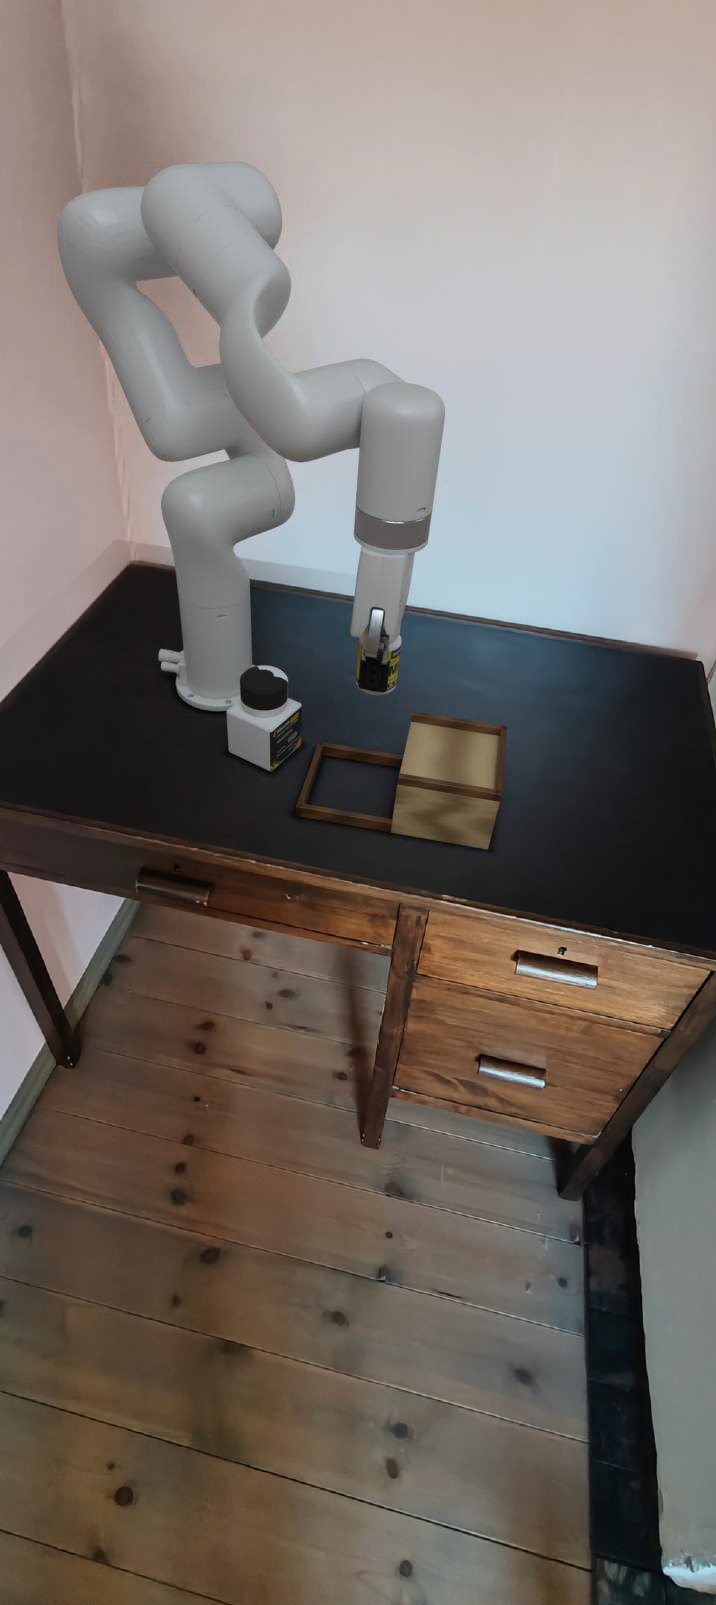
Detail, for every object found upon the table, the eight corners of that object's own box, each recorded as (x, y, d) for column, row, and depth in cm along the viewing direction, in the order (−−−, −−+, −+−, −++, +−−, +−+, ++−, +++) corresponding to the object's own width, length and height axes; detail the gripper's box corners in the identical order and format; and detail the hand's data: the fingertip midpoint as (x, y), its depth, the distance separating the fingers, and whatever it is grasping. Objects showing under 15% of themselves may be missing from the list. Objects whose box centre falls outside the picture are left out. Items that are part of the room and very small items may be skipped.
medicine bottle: (271, 773, 108) (270, 699, 100) (227, 752, 111) (223, 678, 102) (301, 744, 113) (303, 671, 104) (259, 725, 115) (257, 652, 107)
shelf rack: (295, 815, 103) (296, 759, 96) (318, 750, 112) (320, 695, 106) (487, 849, 101) (501, 794, 94) (494, 780, 110) (507, 725, 104)
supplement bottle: (392, 699, 93) (400, 635, 87) (351, 692, 94) (356, 628, 88) (399, 675, 97) (407, 612, 91) (360, 668, 97) (365, 605, 91)
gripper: (370, 483, 88) (358, 631, 101) (337, 556, 76) (328, 714, 89) (439, 494, 88) (419, 641, 100) (417, 569, 75) (397, 726, 88)
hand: (376, 673), depth 94 cm, fingers closed on supplement bottle, 4 cm apart
